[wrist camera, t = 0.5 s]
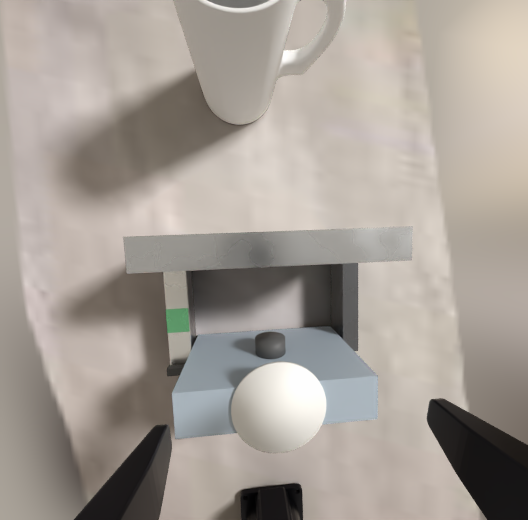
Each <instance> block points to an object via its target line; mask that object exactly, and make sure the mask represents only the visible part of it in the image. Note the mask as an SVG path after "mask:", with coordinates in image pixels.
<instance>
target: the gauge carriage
mask: <svg viewBox="0 0 528 520" xmlns="http://www.w3.org/2000/svg"><path fill="white" fill-rule="evenodd" d="M176 375H180V376H179V379H178V381H177V383H176V385H175V387H174V390H173V392H172V402H173V415H174V428H175V439H182V438H192V437H202V436H212V435H222V434H232V433H238V435H239V436H240V437H241V439H242V440H243V441H244V442H246V443H247V444H248V445H250V446H251V447H253V448H255V449H257V450H259V451H262V452H267V453H284V452H289V451H292V450H295V449H297V448H299V447H301V446H303V445H304V444H306V443H307V442H308V441H310V440H311V439H312V438H313V437H314V436H315V434H316V433H317V432H318V430H319V429H320V427H321V425H322V424H332V423H342V422H352V421H362V420H372V419H378V375H377V374H376V373H375V372H374V371H373V370H372V369H371V368H370V367H369V366H368V365H367V364H366V363H365V362H364V361H363V360H362V359H361V358H360V357H359V356H358V355H357V354H356V353H355V352H354V350H353V349H352V348H351V347H350V346H349V345H348V344H347V343H346V342H345V341H344V340H343V339H342V338H341V337H340V336H339V335H338V334H337V333H336V332H335V331H334V330H333V329H332V328H331V327H330V326H321V327H306V328H292V329H277V330H262V331H247V332H232V333H218V334H203V335H198V336H197V339H196V341H195V343H194V345H193V347H192V350H191V352H190V354H189V356H188V359H187V361H186V363H185V364H181V365H169V366H168V368H167V376H176Z"/></svg>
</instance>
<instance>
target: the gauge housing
mask: <svg viewBox="0 0 528 520" xmlns="http://www.w3.org/2000/svg"><path fill="white" fill-rule="evenodd" d="M123 239H124V250H125V261H126V272H127V274H131V273H152V272H163V278H164V291H165V304H166V321H167V333H168V342H169V355H170V365H181V364H185V363H186V361H187V359H188V356H189V354H190V352H191V350H192V347H193V345H194V343H195V341H196V329H195V314H194V299H193V284H192V271H195V270H216V269H237V268H258V267H279V266H301V265H322V264H331V328H332V329H333V330H334V331H335V332H336V333H337V334H338V335H339V336H340V337H341V338H342V339H343V340H344V341H345V342H346V343H347V344H348V345H349V346H350V347H351V348H352V349H353V350H354V351H358V263H364V262H385V261H407V260H412V227H387V228H359V229H331V230H303V231H275V232H247V233H219V234H191V235H163V236H135V237H123Z"/></svg>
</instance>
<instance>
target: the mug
mask: <svg viewBox="0 0 528 520" xmlns="http://www.w3.org/2000/svg"><path fill="white" fill-rule="evenodd" d="M173 1H174V5H175V8H176V11H177V14H178V17H179V20H180V23H181V26H182V29H183V33H184V36H185V39H186V42H187V45H188V48H189V51H190V54H191V57H192V61H193V64H194V67H195V70H196V73H197V77H198V80H199V83H200V86H201V88H202V91H203V94H204V97H205V100H206V102H207V104H208V106H209V108H210V109H211V110H212V111H213V113H214V114H215V115H216V116H218V117H219V118H220V119H222V120H223V121H225V122H228V123H231V124H236V125H243V124H248V123H251V122H254V121H255V120H257V119H258V118H260V117H261V116H262V115H263V114H264V113H265V111H266V110H267V108H268V107H269V104H270V102H271V99H272V95H273V91H274V88H275V84H276V81H277V80H278V78H280V77H282V76H287V75H302V74H304V73H305V72H306V71H307V70H308V68H309V67H310V66H311V65H312V64H313V63H314V62H315V61H316V60H317V59H318V58H319V57H320V56H321V54H322V53H323V52H324V51H325V50H326V49H327V48H328V46H329V45H330V44H331V42H332V41H333V39H334V38H335V36H336V34H337V32H338V31H339V29H340V26H341V24H342V21H343V18H344V14H345V7H346V0H323V1H324V2H325V4H326V6H327V16H326V19H325V22H324V24H323V26H322V28H321V29H320V31H319V32H318V34H317V35H316V36H315V38H314V39H313V40H312V41H311V42H309V43H308V44H307V45H305V46H303V47H302V48H300V49H297V50H284V48H285V44H286V40H287V36H288V32H289V28H290V24H291V21H292V17H293V13H294V10H295V7H296V5H297V3H298V2H299V1H301V0H173Z"/></svg>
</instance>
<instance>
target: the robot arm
mask: <svg viewBox="0 0 528 520" xmlns="http://www.w3.org/2000/svg"><path fill="white" fill-rule="evenodd" d="M427 422H428V425H429V427H430V428H431V430H432V432H433V434H434V435H435V437H436V439H437V441H438V442H439V444H440V446H441V448H442V449H443V451H444V453H445V455H446V456H447V458H448V460H449V462H450V463H451V465H452V467H453V469H454V470H455V472H456V474H457V475H458V477H459V478H460V480H461V481H462V483H463V484H464V486H465V487H466V489H467V490H468V492H469V493H470V495H471V496H472V498H473V499H474V501H475V502H476V504H477V505H478V507H479V508H480V510H481V511H482V513H483V514H484V516H485V517H486V518H487V520H528V445H526V444H525V443H523V442H521V441H519V440H517V439H516V438H514V437H512V436H510V435H509V434H507V433H505V432H503V431H501V430H499V429H498V428H496V427H494V426H492V425H490V424H489V423H487V422H485V421H483V420H481V419H479V418H478V417H476V416H474V415H472V414H471V413H469V412H467V411H465V410H463V409H461V408H460V407H458V406H456V405H454V404H452V403H451V402H449V401H447V400H445V399H442V398H439V399H431V400H430V402H429V407H428V413H427ZM171 451H172V442H171V435H170V429H169V426H168V425H157V426H155V427H154V428H153V429H152V430H151V431H150V432H149V433H148V434H147V436H146V437H145V438H144V439H143V440H142V441H141V442H140V444H139V445H138V446H137V447H136V448H135V449H134V451H133V452H132V453H131V454H130V455H129V456H128V458H127V459H126V460H125V461H124V462H123V463H122V464H121V466H120V467H119V468H118V469H117V470H116V471H115V473H114V474H113V475H112V476H111V477H110V478H109V480H108V481H107V482H106V483H105V484H104V485H103V487H102V488H101V489H100V490H99V491H98V492H97V493H96V495H95V496H94V497H93V498H92V499H91V500H90V502H89V503H88V504H87V505H86V506H85V507H84V509H83V510H82V511H81V512H80V513H79V514H78V516H77V517H76V518H75V519H74V520H159V516H160V511H161V506H162V501H163V496H164V490H165V485H166V479H167V473H168V468H169V462H170V457H171ZM297 489H298V490H297ZM241 518H242V520H303V504H302V488H301V485H300V484H290V485H281V486H273V487H264V488H256V489H248V490H243V491H242V492H241Z"/></svg>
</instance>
